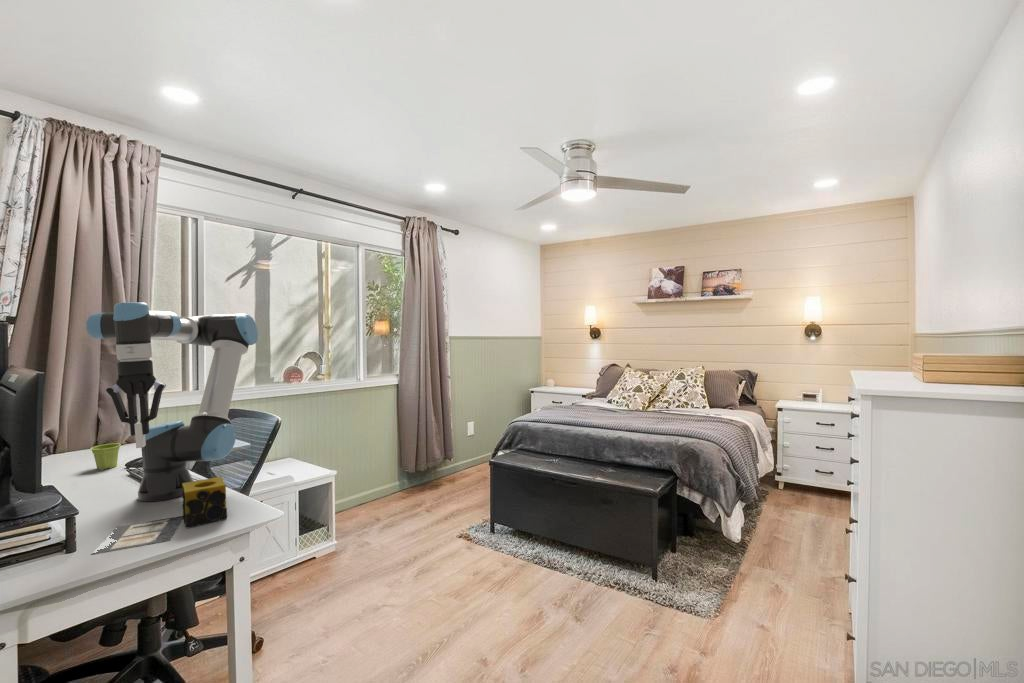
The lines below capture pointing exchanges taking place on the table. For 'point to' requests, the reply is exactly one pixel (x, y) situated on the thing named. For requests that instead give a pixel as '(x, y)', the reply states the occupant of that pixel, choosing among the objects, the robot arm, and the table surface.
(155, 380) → the robot arm
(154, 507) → the table surface
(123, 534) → the label plate
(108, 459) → the plant pot
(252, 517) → the table surface
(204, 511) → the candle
